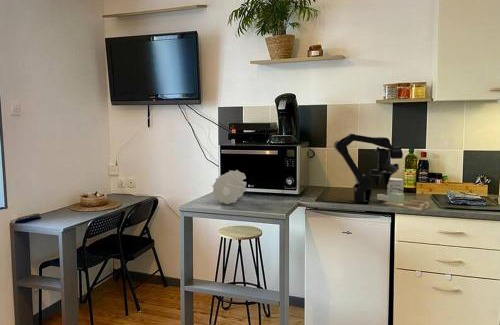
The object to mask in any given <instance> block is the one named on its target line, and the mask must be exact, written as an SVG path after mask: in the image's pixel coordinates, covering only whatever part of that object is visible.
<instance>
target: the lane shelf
mask: <svg viewBox="0 0 500 325" xmlns="http://www.w3.org/2000/svg"><path fill="white" fill-rule="evenodd" d="M382 204H383V205H387V206H392V207H398V208H403V209H409V210H414V211H420V212H421V211H423V210H426V209H428V208H431V205H430V202H428V201H421V200H415V199H409V201H405V200H404V202H403V203H400V204H398V203H392V202H388V201H384V202H383V203H382Z"/></svg>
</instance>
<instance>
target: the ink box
mask: <svg viewBox="0 0 500 325" xmlns="http://www.w3.org/2000/svg"><path fill="white" fill-rule="evenodd" d="M403 187H404V179H403V178H396V177H395V178H394V177H390V180H389V183H388V185H387V186H386V188H387V190H386V195H388V193H391V192H396V193H403V190H404V189H403Z"/></svg>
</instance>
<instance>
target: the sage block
mask: <svg viewBox="0 0 500 325" xmlns="http://www.w3.org/2000/svg"><path fill="white" fill-rule="evenodd" d="M376 199H377V200H378V201H379V200H380V201H384V202H392V203H398V204H400V203H403V202H404V201H405V193H403V192H402V193H396V192H391V193H388V195H387V194H382V193H377V194H376Z"/></svg>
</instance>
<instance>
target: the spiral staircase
mask: <svg viewBox="0 0 500 325" xmlns="http://www.w3.org/2000/svg"><path fill="white" fill-rule="evenodd" d="M246 179H247V177H246V174H245V173H244V172H241V171H239V170H238V169H235V170H228V172H225V173H224V174H221V175H220V176H218V177H217V178H215V182H214V183H213V184H212V187H213V190H212V195H213V197H214V199H216V200H217V202H219V203H220V204H225V205H229V204H232V203H236V202H237V201H238V198H242V197H243V194H244V193H245V192H246V191H247V189H246V188H247V181H244V180H246Z"/></svg>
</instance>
